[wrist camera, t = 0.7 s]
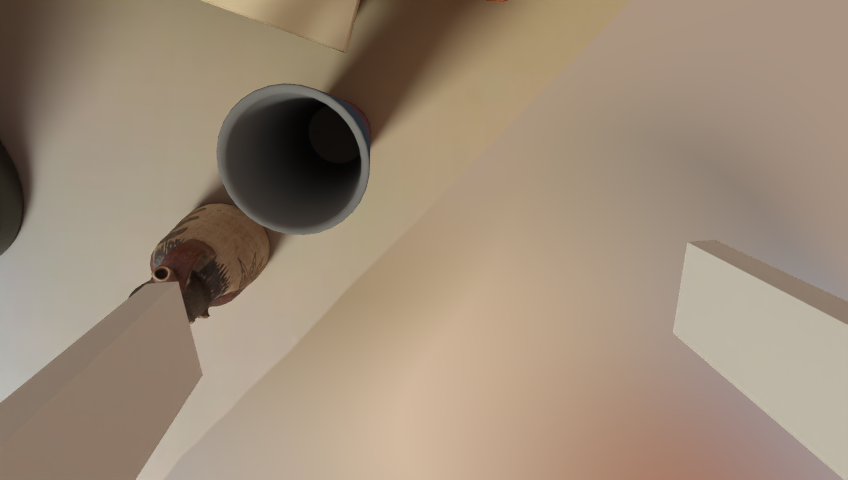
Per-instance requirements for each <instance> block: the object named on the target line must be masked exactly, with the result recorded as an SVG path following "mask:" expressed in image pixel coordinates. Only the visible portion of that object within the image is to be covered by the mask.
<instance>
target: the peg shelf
mask: <svg viewBox="0 0 848 480" xmlns="http://www.w3.org/2000/svg"><path fill="white" fill-rule="evenodd" d="M201 1H204V2H206V3H209V4H212V5H215V6H217V7H220V8H223V9H226V10H228V11H231V12H234V13H237V14H239V15H242V16H245V17H248V18H250V19H253V20H256V21H259V22H262V23H264V24H267V25H270V26H273V27H275V28H278V29H281V30H284V31H286V32H289V33H292V34H295V35H297V36H300V37H303V38H306V39H309V40H311V41H314V42H317V43H320V44H322V45H325V46H328V47H331V48H333V49H336V50H339V51H342V52H344V53H346V52H347V48H348V45H349V41H350V37H351V33H352V29H353V26H354V22H355V18H356V14H357V10H358V7H359V3H360V0H201Z"/></svg>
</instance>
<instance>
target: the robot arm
mask: <svg viewBox="0 0 848 480" xmlns="http://www.w3.org/2000/svg"><path fill="white" fill-rule="evenodd" d="M22 210H23V202H22V192H21V187H20V183H19V179H18V176H17V173H16V171H15V168H14V166H13V164H12V162H11V160H10V158H9V156H8V154H7V152H6V151H5V149H4V148H3V146H2V145H1V143H0V255H1V254H2V253H3V252H4V251H5V250H6V249H7V248H8V247H9V246H10V245H11V243H12V242H13V240H14V238H15V236H16V234H17V232H18V230H19V227H20V223H21V218H22ZM673 333H674V334H675V335H676V336H677V337H678V338H680V339H681V340H682V341H683V342H684V343H685V344H687V345H688V346H689V347H690V348H691V349H692V350H694V351H695V352H696V353H697V354H698V355H699V356H701V357H702V358H703V359H704V360H705V361H706V362H708V363H709V364H710V365H711V366H712V367H713V368H715V369H716V370H717V371H718V372H719V373H720V374H721V375H723V376H724V377H725V378H726V379H727V380H729V381H730V382H731V383H732V384H733V385H734V386H735V387H737V388H738V389H739V390H740V391H741V392H742V393H744V394H745V395H746V396H747V397H748V398H749V399H751V400H752V401H753V402H754V403H755V404H756V405H758V406H759V407H760V408H761V409H762V410H763V411H765V412H766V413H767V414H768V415H769V416H770V417H772V418H773V419H774V420H775V421H776V422H777V423H779V424H780V425H781V426H782V427H783V428H784V429H785V430H787V431H788V432H789V433H790V434H792V436H794V437H795V438H796V439H797V440H798V441H800V442H801V443H802V444H803V445H804V446H805V447H807V448H808V449H809V450H810V451H811V452H813V454H815V455H816V456H817V457H818V458H819V459H821V460H822V461H823V462H824V463H825V464H826V465H828V466H829V467H830V468H831V469H832V470H833V471H834V472H836V473H837V474H838V475H839V476H840V477H841V478H843V479H844V480H848V302H847V301H845V300H843V299H840V298H838V297H836V296H834V295H832V294H830V293H828V292H825V291H823V290H821V289H819V288H817V287H815V286H813V285H810V284H808V283H806V282H804V281H802V280H800V279H797V278H795V277H793V276H791V275H789V274H787V273H785V272H783V271H780V270H778V269H776V268H774V267H772V266H770V265H767V264H765V263H763V262H761V261H759V260H757V259H755V258H752V257H750V256H748V255H746V254H744V253H742V252H740V251H737V250H735V249H733V248H731V247H729V246H727V245H725V244H722V243H720V242H718V241H716V240H710V241H696V242H688V243H687V248H686V254H685V260H684V266H683V273H682V279H681V285H680V292H679V298H678V304H677V311H676V317H675V323H674V329H673ZM201 377H202V371H201V367H200V363H199V359H198V355H197V351H196V348H195V344H194V340H193V336H192V332H191V328H190V325H189V321H188V317H187V313H186V309H185V305H184V302H183V298H182V294H181V290H180V286H179V282H165V283H152V284H146V285H144V286H143V287H142V288H141V289H140V290H138V291H137V292H136V293H135V294H133V295H132V296H131V297H130V298H129V299H127V300H126V301H125V302H124V303H122V304H121V305H120V306H119V307H117V308H116V309H115V310H114V311H113V312H111V313H110V314H109V315H108V316H106V317H105V318H104V319H103V320H102V321H100V322H99V323H98V324H97V325H95V326H94V327H93V328H92V329H91V330H89V331H88V332H87V333H86V334H84V335H83V336H82V337H81V338H80V339H78V340H77V341H76V342H75V343H73V344H72V345H71V346H70V347H68V348H67V349H66V350H65V351H64V352H62V353H61V354H60V355H59V356H57V357H56V358H55V359H54V360H53V361H51V362H50V363H49V364H48V365H46V366H45V367H44V368H43V369H42V370H40V371H39V372H38V373H37V374H35V375H34V376H33V377H32V378H31V379H29V380H28V381H27V382H26V383H24V384H23V385H22V386H21V387H19V388H18V389H17V390H16V391H15V392H13V393H12V394H11V395H10V396H8V397H7V398H6V399H5V400H4V401H2V402H1V403H0V480H135V479H136V478H137V476H138V475H139V473H140V472H141V470H142V468H143V467H144V465H145V464H146V462H147V461H148V459H149V458H150V456H151V454H152V453H153V451H154V450H155V448H156V447H157V445H158V444H159V442H160V440H161V439H162V437H163V436H164V434H165V433H166V431H167V430H168V428H169V426H170V425H171V423H172V422H173V420H174V419H175V417H176V416H177V414H178V412H179V411H180V409H181V408H182V406H183V405H184V403H185V401H186V400H187V398H188V397H189V395H190V394H191V392H192V391H193V389H194V387H195V386H196V384H197V383H198V381H199V380H200V378H201Z"/></svg>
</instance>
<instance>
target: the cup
mask: <svg viewBox="0 0 848 480" xmlns="http://www.w3.org/2000/svg"><path fill="white" fill-rule="evenodd" d="M370 142H371V131H370V126H369V123H368V120H367V118H366V117H365V115H364V114H363V112H362V111H361V110H360V109H359V108H357V107H356V106H355V105H353V104H351V103H349V102H347V101H344V100H342V99H339V98H337V97H334V96H332V95H329V94H327V93H324V92H322V91H319V90H317V89H313V88H310V87H306V86H303V85H296V84H278V85H271V86H267V87H264V88H261V89H258V90H256V91H254V92H252V93H250V94H249V95H247V96H246V97H244V98H243V99H241V100H240V101H239V102H238V103H237V104H236V105H235V106H234V107H233V108H232V109H231V111H230V112H229V114H228V116H227V117H226V119H225V120H224V122H223V125H222V128H221V130H220V133H219V136H218V144H217V163H218V169H219V173H220V176H221V180H222V182H223V184H224V186H225V188H226V190H227V192H228V194H229V196H230V197H231V198H232V200H233V201H234V202H235V204H236V205H237V206H238V207H239V208H240V209H241V210H242V211H243V212H244V213H245V214H246V215H247V216H248V217H249V218H251V219H253V220H254V221H256V222H257V223H259V224H260V225H262V226H264V227H267V228H269V229H271V230H274V231H277V232H281V233H286V234H294V235H306V234H313V233H318V232H321V231H324V230H327V229H330V228H332V227H334V226H335V225H337V224H339V223H340V222H342V221H343V220H344V219H345V218H347V217H348V216H349V215H350V214H351V213H352V212H353V211H354V209H355V208H356V207H357V205H358V204H359V203H360V201H361V199H362V197H363V194H364V192H365V190H366V187H367V183H368V178H369V168H370Z"/></svg>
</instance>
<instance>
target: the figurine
mask: <svg viewBox="0 0 848 480" xmlns="http://www.w3.org/2000/svg"><path fill="white" fill-rule="evenodd" d="M269 246H270V245H269V240H268V236H267V234H266V232H265V229H264V227H263V226H262V225H260V224H259V223H257V222H256V221H254V220H253V219H251V218H249V217H248V216H247V215H246V214H245V213H244V212H243V211H242V210H241V209H240V208H239V207H237V206H234V205H228V204H223V203H218V204H208V205H205V206H202V207H200V208H197V209H195V210H194V211H192V212H191V213H190V214H188V215H187V216H186V217H185V218H183V219H182V220H181V221H180V222H179V223H178V224H177V226H176V227H175V228H174V229H173V230H172V231H170V233H169V234H168V235H167V236H166V237H165V238H163V239H162V240H161V241H160V243H159V244H158V245H157V247H156V248H155V250H154V251H153V253H152V255H151V261H150V266H151V271H152V273H151V274H152V278H151V280H150V281H148V282H146V283H144V284H142V285H141V286H139V287H138V288H136V289H135V290H134V291H133V292H132V293H131V294H130V296H129V298H130V297H131V296H132V295H133V294H135V293H136V292H137V291H138V290H140V289H141V288H142V287H143V286H144V285H146V284H152V283H165V282H179V286H180V290H181V294H182V298H183V302H184V305H185V309H186V313H187V317H188V321H189V325H190V324H192V323H193V322H194V321H195V319H196V318H197V317H198V318H208V317H209V316H210V315H209V314H208V308H209V307H212V306H220V305H223V304H226V303H228V302H230V301H232V300H233V299H234V298H235V297H236V296H237V295H239V294H240V293H241V292H242V291H243V290H244V289H245V288H246V287H247V286H248V285H249V284H251V283H252V282H253V281H254V280H255V279H256V278H257V277H258V276H259V274H260V273H261V272H262V271H263V269H264V267H265V265H266V264H267V262H268V258H269ZM129 298H128V299H129Z"/></svg>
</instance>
